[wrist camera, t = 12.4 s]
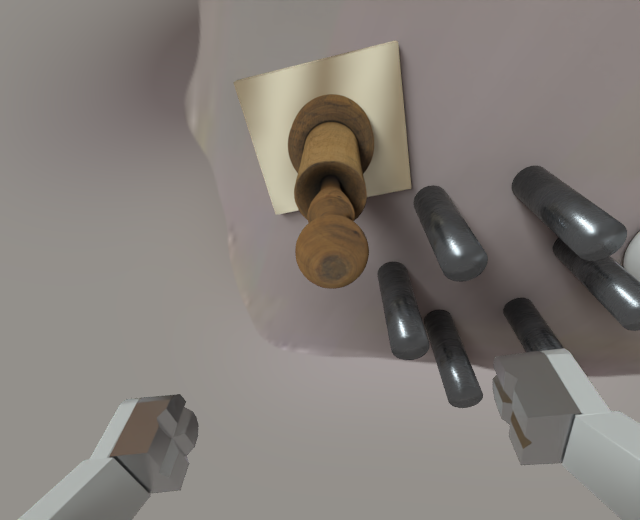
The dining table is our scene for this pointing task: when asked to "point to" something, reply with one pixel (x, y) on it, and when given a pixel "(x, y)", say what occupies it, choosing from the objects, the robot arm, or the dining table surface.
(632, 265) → the wine bottle
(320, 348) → the dining table surface
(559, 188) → the capsules
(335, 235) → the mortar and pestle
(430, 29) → the dining table surface
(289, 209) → the birch board
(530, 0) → the dining table surface
